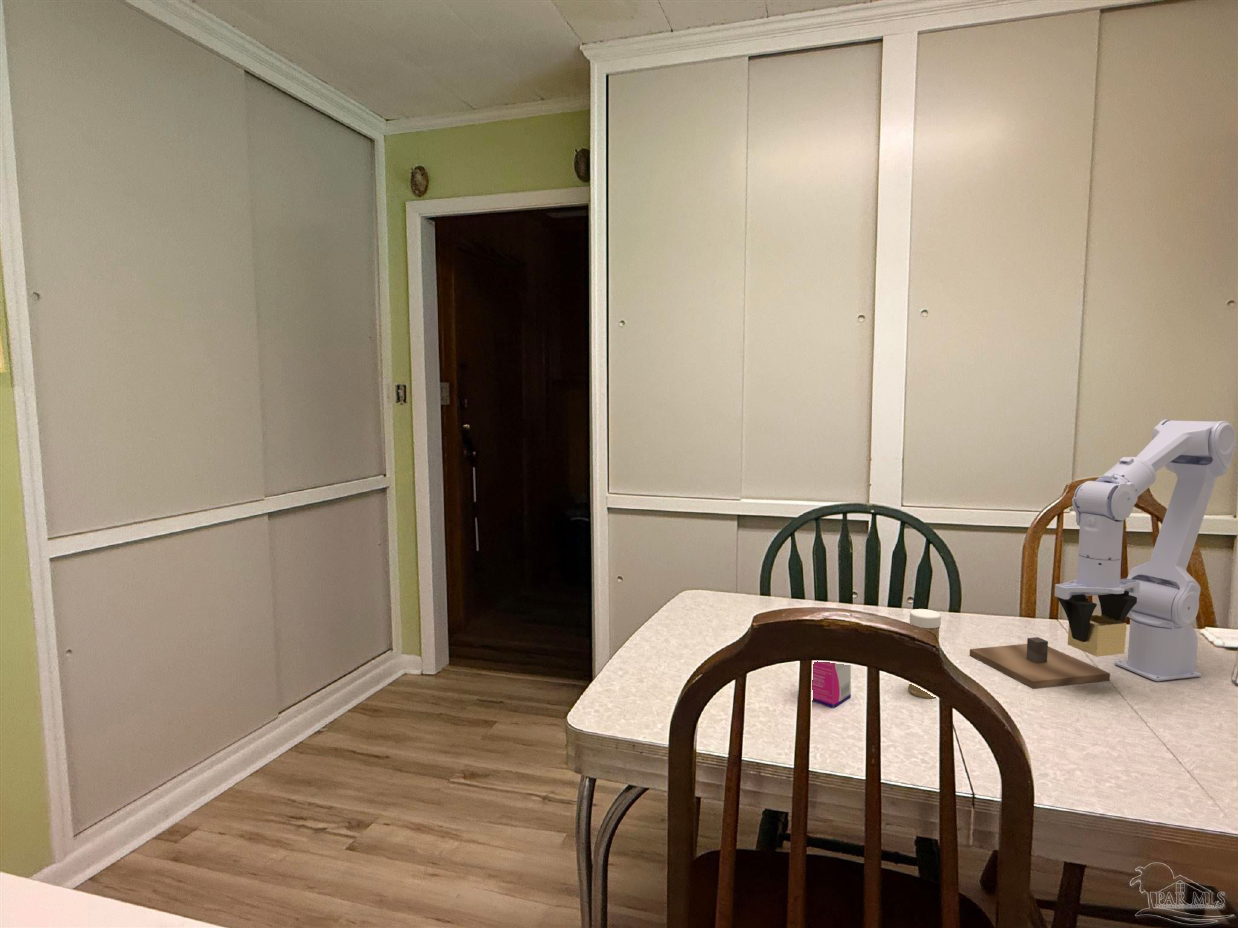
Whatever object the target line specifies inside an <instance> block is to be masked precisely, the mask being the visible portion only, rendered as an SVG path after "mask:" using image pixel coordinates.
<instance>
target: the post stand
mask: <svg viewBox="0 0 1238 928" xmlns="http://www.w3.org/2000/svg"><path fill="white" fill-rule="evenodd" d="M969 656H970V657H972V658H974V659H975V660H977V659H978V661H979V662H982V663H984V664H986V665H987V666H989V667H990V668H993V669H994V670H997V671H999V672H1001V674H1005V675H1006V676H1008V677H1011V678H1012V679H1014V680H1016V681H1017V682H1020V683H1021V684H1023V685H1026V686H1027V687H1029V688H1031V689H1038V688H1040V689H1041V688H1049V687H1057V686H1058V687H1059V686H1067V685H1069V686H1070V685H1077V684H1085V683H1086V684H1087V683H1094V682H1095V683H1096V682H1103V681H1104V682H1105V681H1110V680H1111V673H1110V672H1109V671H1106V670H1105V669H1101V668H1099V667H1097V666H1095V665H1093V664H1090V663H1088V662H1085V661H1083V660H1080V659H1078V658H1076V657H1074V656H1072V655H1069V654H1066V653H1065V652H1062V651H1060V650H1057V649H1055V648H1053V647H1051V646H1049V640H1046V639H1043V638H1041V637H1040V636H1039V637H1038V636H1035V637H1027V640H1026V643H1021V644H1011V645H1010V644H1009V645H998V646H989V647H978V648H976V647H975V648H970V649H969Z"/></svg>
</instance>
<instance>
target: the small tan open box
mask: <svg viewBox="0 0 1238 928" xmlns="http://www.w3.org/2000/svg"><path fill="white" fill-rule="evenodd" d="M1126 633H1127V622H1125V621H1124V622H1122V621H1119V620H1116V619H1113V618H1110V617H1107V616H1104V615H1102V614H1101V613H1098V612H1093V614H1092V617H1091V620H1090V625H1089V633H1088V638H1087V641H1086V642H1081V641H1078V640H1076V639H1073V638H1072V634H1071V629H1070V625H1069V624H1068V632H1067V646H1069V647H1072V648H1075V649H1078V650H1079V651H1082V652H1084V653H1087V654H1089V655H1092V656H1094V657H1104V656H1105V657H1106V656H1115V655H1122V654H1123V655H1124V654H1125V651H1126V650H1125V649H1126V638H1127V637H1126V635H1127V634H1126Z"/></svg>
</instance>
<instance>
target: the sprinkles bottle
mask: <svg viewBox="0 0 1238 928" xmlns="http://www.w3.org/2000/svg"><path fill="white" fill-rule="evenodd" d="M941 623H942V616H941V614H940V613H939V612H938V611H935V610H932V609H925V608H918V609H917V608H915V609H912V610H910V612H909V625H910V624H912V625H914V626H918V627H921V628H923V629H926V630H929V631H930V632H933V633H934V634H935V635H936V636H937V638H938V639H939V640H940V628H941ZM907 687H908V688H907V691H908V692H909V693H910V694H911V695H913V696H914V697H919V698H923V699H924V698H925V699H931V698H934V697H933V696H931V695H930V694H928V693H927V692H925V691H923V690H921V689H920V688H918V687H916V686H914V685H912V684H909V683H908V686H907Z"/></svg>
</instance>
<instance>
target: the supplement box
mask: <svg viewBox="0 0 1238 928" xmlns="http://www.w3.org/2000/svg"><path fill="white" fill-rule="evenodd" d="M851 666H852V665H844V664H836V663H830V662H818V661H817V662H814V664H813V680H812V690H813V701H812V702H814V703H817V704H820V705H823V706H826V707H829V708H831V709H835V708H836V707H837V706H839V705H840V704H843V703H844V702H846V701H847V700H849V699H851V697H852V695H851V689H852V687H851V686H852V685H851V679H852V678H851V674H852V673H851V672H852V671H851Z"/></svg>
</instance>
